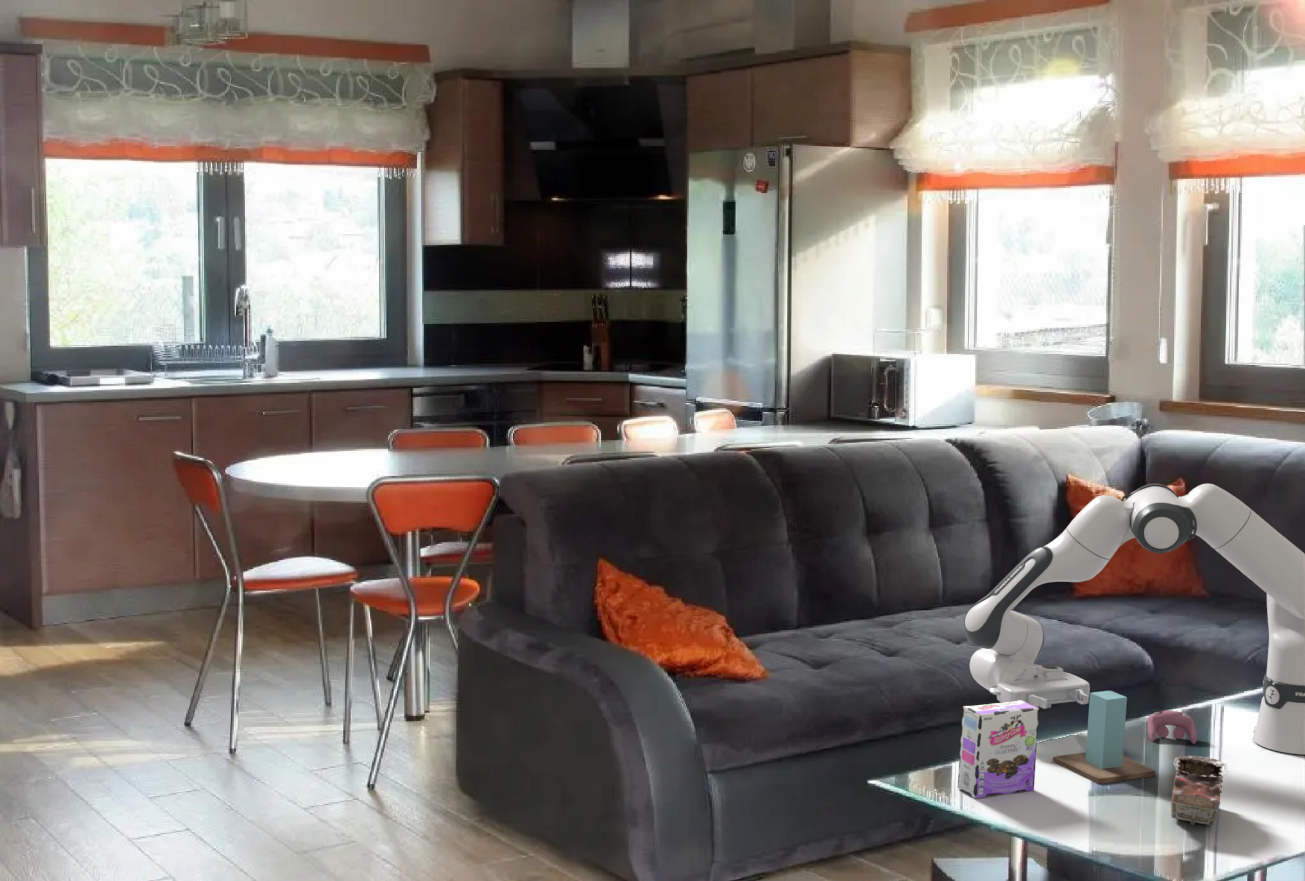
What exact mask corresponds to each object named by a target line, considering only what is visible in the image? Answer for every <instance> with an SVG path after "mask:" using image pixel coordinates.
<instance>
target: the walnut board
mask: <svg viewBox="0 0 1305 881" xmlns="http://www.w3.org/2000/svg"><path fill="white" fill-rule="evenodd" d="M1085 760H1086V751H1085V752H1077V753H1069V754H1063V755H1056V756H1055V755H1054V756H1052V760H1051V762H1053V763H1054V764H1056V765H1059V766H1061V767H1063V768H1065V769H1067V770H1069V771H1070V772H1073V773H1075V774H1077V775H1079V776H1080V777H1083V778H1085V779H1087V780H1089V781H1091V782H1094V783H1095V784H1099V785H1101V784H1107V783H1113V782H1114V783H1115V782H1120V781H1121V782H1122V781H1128V780H1135V779H1143V778H1149V777H1155V776H1156V770H1154V769H1153V768H1150V767H1148V766H1146V765H1143V764H1142V763H1140V762H1137V761H1135V760H1133V759H1130V758H1128V757H1127V756H1124V755H1123V762H1122V766H1120V767H1113V768H1106V769H1101V768H1099V767H1097V766H1095V765H1093V764H1090V763H1088V762H1086V761H1085Z"/></svg>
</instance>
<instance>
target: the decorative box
mask: <svg viewBox="0 0 1305 881" xmlns="http://www.w3.org/2000/svg"><path fill="white" fill-rule="evenodd" d="M1172 765H1173V766H1174V768H1175V772H1174V778H1173V779H1174V781H1173V788H1172V789H1171V792H1172V793H1171V800H1170V801H1171V802H1170V805H1171V806H1170V807H1171V808H1170V809H1171V812H1170V814H1171V815H1170V816H1171V818H1172V819H1175V820H1177V819H1178V820H1181V821H1185V822H1190V824H1191V825H1195V824H1196V823H1197V824H1201V825H1207V826H1214V825H1215V821H1216V817H1217V814H1218V812H1219V811H1220V809H1219V808H1220V803H1221V794H1222V792H1223V791H1222V788H1223V785H1222V783H1223V777H1224V776H1226V775H1227V773H1228V771H1229V770H1228V766H1227V764H1226V763H1224V762H1223V761H1221V760H1219V759H1215V758H1210V757H1207V756H1201V755H1200V756H1199V755H1180V756H1177V757H1175V758H1174V759H1173V762H1172Z"/></svg>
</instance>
